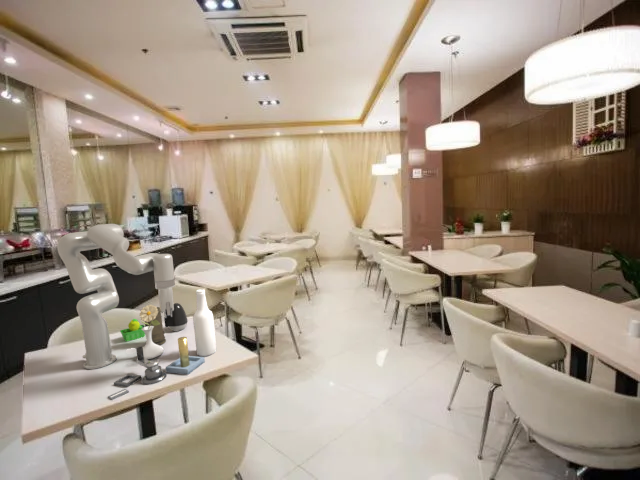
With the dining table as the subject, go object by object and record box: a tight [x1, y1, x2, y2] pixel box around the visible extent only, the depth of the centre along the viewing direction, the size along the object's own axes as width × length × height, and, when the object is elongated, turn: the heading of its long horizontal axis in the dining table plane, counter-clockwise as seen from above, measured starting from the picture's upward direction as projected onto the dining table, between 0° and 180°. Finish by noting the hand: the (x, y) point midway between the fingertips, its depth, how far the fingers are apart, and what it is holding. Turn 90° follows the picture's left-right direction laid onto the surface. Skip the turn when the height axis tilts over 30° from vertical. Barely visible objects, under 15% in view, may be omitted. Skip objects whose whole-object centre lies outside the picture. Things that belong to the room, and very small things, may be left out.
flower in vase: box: [139, 304, 165, 360], centre depth 158 cm, size 13×11×25 cm
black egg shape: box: [169, 302, 189, 332], centre depth 192 cm, size 10×10×15 cm
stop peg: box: [177, 336, 190, 367], centre depth 146 cm, size 4×4×12 cm
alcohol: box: [192, 288, 217, 358], centre depth 158 cm, size 9×9×30 cm
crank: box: [135, 345, 159, 371], centre depth 140 cm, size 13×4×7 cm, turn 53°
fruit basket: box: [120, 318, 146, 342], centre depth 183 cm, size 11×9×11 cm
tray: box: [165, 355, 206, 375], centre depth 146 cm, size 11×11×2 cm
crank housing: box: [113, 365, 167, 388], centre depth 137 cm, size 17×12×4 cm
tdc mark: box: [107, 388, 130, 401], centre depth 127 cm, size 6×3×1 cm, turn 143°
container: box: [144, 306, 167, 346], centre depth 174 cm, size 9×9×18 cm
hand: (169, 325), depth 145 cm, fingers closed
